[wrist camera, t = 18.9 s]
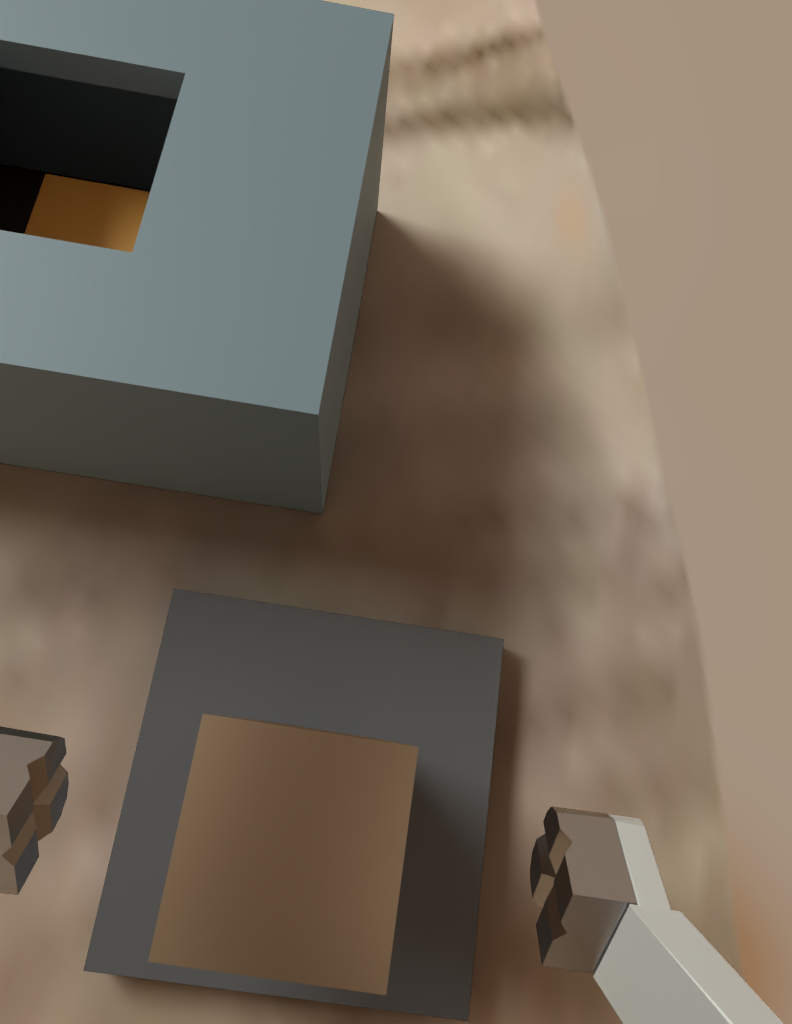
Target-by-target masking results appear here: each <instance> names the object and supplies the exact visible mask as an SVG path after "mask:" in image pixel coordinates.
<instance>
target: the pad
mask: <svg viewBox="0 0 792 1024" xmlns="http://www.w3.org/2000/svg"><path fill="white" fill-rule="evenodd" d="M503 642H504V639H500V638H493V637H486V636H480V635H473V634H467V633H460V632H454V631H447V630H441V629H434V628H428V627H421V626H414V625H408V624H401V623H395V622H388V621H382V620H375V619H369V618H362V617H356V616H349V615H342V614H336V613H329V612H323V611H316V610H310V609H303V608H297V607H290V606H284V605H277V604H270V603H264V602H257V601H251V600H244V599H238V598H231V597H225V596H218V595H212V594H205V593H198V592H192V591H185V590H179V589H174V590H173V595H172V599H171V603H170V607H169V612H168V616H167V620H166V624H165V628H164V633H163V637H162V641H161V645H160V650H159V654H158V658H157V662H156V667H155V671H154V675H153V679H152V683H151V688H150V692H149V696H148V700H147V705H146V709H145V713H144V717H143V721H142V726H141V730H140V734H139V738H138V743H137V747H136V751H135V755H134V760H133V764H132V768H131V772H130V776H129V781H128V785H127V789H126V793H125V798H124V802H123V806H122V810H121V814H120V819H119V823H118V827H117V831H116V836H115V840H114V844H113V848H112V853H111V857H110V861H109V865H108V869H107V874H106V878H105V882H104V886H103V891H102V895H101V899H100V903H99V907H98V912H97V916H96V920H95V924H94V929H93V933H92V937H91V941H90V946H89V950H88V954H87V958H86V962H85V967H84V971H89V972H97V973H105V974H112V975H120V976H127V977H135V978H143V979H150V980H158V981H166V982H173V983H181V984H188V985H196V986H204V987H211V988H219V989H227V990H234V991H242V992H250V993H257V994H265V995H272V996H280V997H288V998H295V999H303V1000H311V1001H318V1002H326V1003H333V1004H341V1005H349V1006H356V1007H364V1008H372V1009H379V1010H387V1011H395V1012H402V1013H410V1014H417V1015H425V1016H433V1017H440V1018H448V1019H456V1020H463V1021H468V1017H469V1006H470V995H471V985H472V974H473V963H474V953H475V942H476V931H477V920H478V910H479V899H480V888H481V878H482V867H483V856H484V845H485V835H486V824H487V813H488V803H489V792H490V781H491V770H492V760H493V749H494V738H495V728H496V717H497V706H498V695H499V685H500V674H501V663H502V653H503ZM202 714H211V715H219V716H227V717H236V718H244V719H253V720H261V721H268V722H274V723H281V724H287V725H294V726H300V727H307V728H313V729H320V730H326V731H333V732H339V733H346V734H352V735H359V736H365V737H372V738H378V739H383V740H388V741H393V742H397V743H402V744H407V745H412V746H417V747H419V748H418V756H417V763H416V771H415V779H414V786H413V794H412V802H411V809H410V817H409V825H408V832H407V840H406V847H405V855H404V863H403V870H402V878H401V886H400V893H399V901H398V909H397V916H396V924H395V931H394V939H393V947H392V954H391V962H390V970H389V977H388V985H387V993H386V995H380V994H373V993H366V992H359V991H352V990H345V989H338V988H330V987H323V986H316V985H309V984H302V983H295V982H288V981H281V980H274V979H267V978H260V977H253V976H245V975H238V974H231V973H224V972H217V971H210V970H203V969H196V968H189V967H182V966H175V965H167V964H160V963H153V962H148V959H149V954H150V950H151V945H152V941H153V936H154V932H155V927H156V923H157V918H158V914H159V909H160V905H161V900H162V896H163V891H164V886H165V882H166V877H167V873H168V868H169V864H170V859H171V855H172V850H173V846H174V841H175V837H176V832H177V828H178V823H179V818H180V814H181V809H182V805H183V800H184V796H185V791H186V787H187V782H188V778H189V773H190V769H191V764H192V760H193V755H194V751H195V746H196V741H197V737H198V732H199V728H200V723H201V719H202Z"/></svg>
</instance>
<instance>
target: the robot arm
mask: <svg viewBox="0 0 792 1024" xmlns="http://www.w3.org/2000/svg"><path fill="white" fill-rule="evenodd" d="M65 754H66V747H65V739H64V738H62V737H58V736H53V735H47V734H41V733H35V732H29V731H23V730H17V729H12V728H6V727H0V893H5V894H14V895H18V894H19V892H20V890H21V888H22V886H23V885H24V883H25V881H26V879H27V877H28V876H29V874H30V872H31V870H32V868H33V866H34V865H35V863H36V861H37V859H38V857H39V852H38V842H37V841H39V840H41V839H42V838H44V837H45V836H47V835H48V834H50V833H51V832H52V831H53V829H54V827H55V826H56V824H57V822H58V820H59V818H60V816H61V813H62V810H63V807H64V804H65V801H66V798H67V791H68V772H67V771H66V770H65V769H64V768H63V767H62V765H61V764H60V763H61V761H62V760H63V758H64V756H65ZM544 827H545V834H544V835H542V836H541V837H539V838H538V839H537V840H536V843H535V846H534V849H533V852H532V859H531V867H530V879H531V890H532V898H533V899H534V901H535V902H536V903H537V905H538V906H539V907H540V909H541V910H542V911H541V914H540V916H539V919H538V921H537V924H536V927H537V934H538V941H539V948H540V954H541V961H542V966H547V967H554V968H560V969H566V970H572V971H578V972H584V973H590V974H594V976H593V977H594V979H595V980H596V982H597V984H598V985H599V987H600V988H601V990H602V991H603V993H604V994H605V996H606V998H607V999H608V1001H609V1002H610V1004H611V1005H612V1007H613V1008H614V1010H615V1012H616V1013H617V1015H618V1016H619V1018H620V1019H621V1021H622V1023H623V1024H784V1023H783V1022H782V1021H781V1020H780V1019H779V1018H778V1017H777V1016H776V1015H775V1013H774V1012H773V1011H772V1010H771V1009H770V1008H769V1007H768V1006H767V1005H766V1004H765V1003H764V1002H763V1001H762V999H760V997H759V996H758V995H757V994H756V993H755V992H754V991H753V990H752V988H751V987H750V986H749V985H748V984H747V983H746V982H745V981H744V980H743V979H742V978H741V977H740V975H739V974H738V973H737V972H736V971H735V970H734V969H733V968H732V967H731V966H730V965H729V963H728V962H727V961H726V960H725V959H724V958H723V957H722V956H721V955H720V954H719V953H718V952H717V950H716V949H715V948H714V947H713V946H712V945H711V944H710V943H709V942H708V941H707V940H706V938H705V937H704V936H703V935H702V934H701V933H700V932H699V931H698V930H697V929H696V928H695V927H694V925H693V924H692V923H691V922H690V921H689V920H688V919H687V918H686V917H685V916H684V915H683V913H682V912H681V911H675V910H672V909H671V906H670V903H669V900H668V897H667V894H666V891H665V888H664V884H663V881H662V878H661V875H660V872H659V869H658V866H657V863H656V860H655V857H654V854H653V851H652V848H651V844H650V841H649V838H648V835H647V832H646V829H645V826H644V824H643V823H642V821H641V820H640V819H638V818H631V817H624V816H617V815H608V814H605V813H598V812H590V811H582V810H575V809H567V808H559V807H551V808H550V809H549V810H548V811H547V814H546V816H545V819H544Z"/></svg>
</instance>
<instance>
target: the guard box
mask: <svg viewBox="0 0 792 1024" xmlns="http://www.w3.org/2000/svg"><path fill="white" fill-rule="evenodd" d="M393 19H394V14H391V13H386V12H381V11H375V10H370V9H365V8H359V7H354V6H348V5H343V4H338V3H332V2H327V1H322V0H0V164H5V165H11V166H17V167H22V168H28V169H34V170H40V171H45V172H51V173H57V174H62V175H68V176H74V177H80V178H85V179H91V180H97V181H103V182H108V183H114V184H120V185H125V186H131V187H137V188H143V189H148V190H151V191H150V194H149V197H148V201H147V204H146V208H145V211H144V214H143V218H142V221H141V224H140V228H139V231H138V235H137V238H136V241H135V245H134V248H133V251H132V252H126V251H120V250H115V249H109V248H103V247H97V246H91V245H85V244H79V243H74V242H68V241H62V240H56V239H50V238H44V237H38V236H33V235H27V234H21V233H15V232H9V231H3V230H0V463H4V464H10V465H16V466H23V467H29V468H35V469H41V470H48V471H54V472H60V473H67V474H73V475H79V476H86V477H92V478H98V479H105V480H111V481H117V482H124V483H130V484H136V485H143V486H149V487H155V488H162V489H168V490H174V491H181V492H187V493H193V494H200V495H206V496H212V497H218V498H225V499H231V500H237V501H244V502H250V503H256V504H263V505H269V506H275V507H282V508H288V509H294V510H301V511H307V512H313V513H320V514H323V511H324V505H325V499H326V494H327V488H328V483H329V477H330V471H331V466H332V460H333V455H334V449H335V443H336V438H337V432H338V427H339V421H340V415H341V410H342V404H343V399H344V393H345V387H346V382H347V376H348V371H349V365H350V359H351V354H352V348H353V343H354V337H355V331H356V326H357V320H358V315H359V309H360V303H361V298H362V292H363V287H364V281H365V275H366V270H367V264H368V258H369V253H370V247H371V242H372V236H373V230H374V225H375V219H376V214H377V207H378V195H379V183H380V171H381V160H382V148H383V136H384V124H385V113H386V101H387V89H388V78H389V66H390V54H391V42H392V31H393Z"/></svg>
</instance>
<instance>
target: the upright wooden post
mask: <svg viewBox="0 0 792 1024" xmlns="http://www.w3.org/2000/svg"><path fill="white" fill-rule="evenodd" d="M418 748H419V747H417V746H412V745H407V744H402V743H397V742H393V741H388V740H383V739H378V738H372V737H365V736H359V735H352V734H346V733H339V732H333V731H326V730H320V729H313V728H307V727H300V726H294V725H287V724H281V723H274V722H268V721H261V720H253V719H244V718H236V717H227V716H219V715H211V714H202V719H201V723H200V728H199V732H198V737H197V741H196V746H195V751H194V755H193V760H192V764H191V769H190V773H189V778H188V782H187V787H186V791H185V796H184V800H183V805H182V809H181V814H180V818H179V823H178V828H177V832H176V837H175V841H174V846H173V850H172V855H171V859H170V864H169V868H168V873H167V877H166V882H165V886H164V891H163V896H162V900H161V905H160V909H159V914H158V918H157V923H156V927H155V932H154V936H153V941H152V945H151V950H150V954H149V959H148V962H153V963H160V964H167V965H175V966H182V967H189V968H196V969H203V970H210V971H217V972H224V973H231V974H238V975H245V976H253V977H260V978H267V979H274V980H281V981H288V982H295V983H302V984H309V985H316V986H323V987H330V988H338V989H345V990H352V991H359V992H366V993H373V994H380V995H386V993H387V985H388V977H389V970H390V962H391V954H392V947H393V939H394V931H395V924H396V916H397V909H398V901H399V893H400V886H401V878H402V870H403V863H404V855H405V847H406V840H407V832H408V825H409V817H410V809H411V802H412V794H413V786H414V779H415V771H416V763H417V756H418Z"/></svg>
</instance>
